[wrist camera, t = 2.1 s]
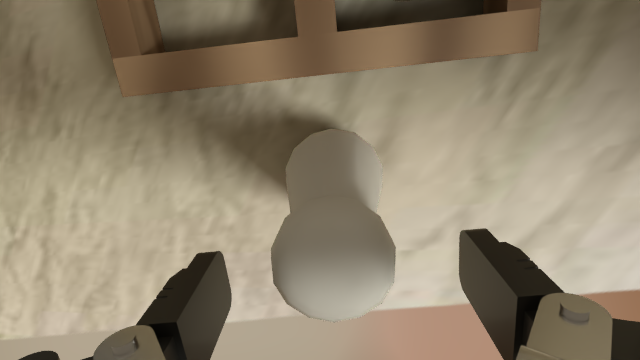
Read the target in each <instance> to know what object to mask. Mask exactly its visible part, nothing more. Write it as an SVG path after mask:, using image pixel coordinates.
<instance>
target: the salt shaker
mask: <svg viewBox="0 0 640 360" xmlns="http://www.w3.org/2000/svg"><path fill="white" fill-rule="evenodd" d="M285 171H286V185H287V193H288V198H289V204H290V213H291V214H289V215H288V216H287V217H286V218H285V219H284V221H283V224H282V226H281V228H280V230H279V232H278V234H277V236H276V239H275V241H274V243H273V245H272V248H271V261H272V271H273V282H274V284H275V286H276V287H277V289H278V291H279V292H280V294H281V295H282V297H283V299H284V300H285V302H286V303H287V304H288V305H290V306H291V307H293V308H294V309H296V310H298V311H299V312H301V313H302V314H304V315H306V316H307V317H310V318H315V319H320V320H325V321H330V322H338V321H344V320H348V319H354V318H358V317H361V316H363V315H364V314H366V313H367V312H369V311H371V310H372V309H374V308H375V307H377V306H378V305H380V304H382V302H383V300H384V299H385V297H386V295H387V293H388V292H389V290H390V288H391V287H392V285H393V283H394V274H395V249H396V247H395V245H394V243H393V241H392V238H391V236H390V235H389V233H388V231H387V229H386V227H385V225H384V223H383V221H382V219H381V217H380V216H379V215H377V214H376V213H377V208H378V203H379V198H380V194H381V189H382V172H383V166H382V164H381V162H380V160H379V158H378V156H377V154H376V152H375V150H374V148H373V147H372V146H371V145H370V144H369V143H367V142H366V141H365V140H363V139H362V138H361V137H360V136H358V135H357V134H356V133H354V132H349V131H344V130H339V129H334V128H332V129H328V130H324V131H320V132H316V133H312V134H311V135H309V136H308V137H307V138H306V139H305V140H303V141H302V142H301V143H300V144H299V145H298V146H296V147H295V148H294V149H293V152H292V154H291V156H290V159H289V161H288V163H287V166H286V168H285Z"/></svg>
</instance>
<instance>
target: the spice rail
mask: <svg viewBox="0 0 640 360" xmlns="http://www.w3.org/2000/svg"><path fill="white" fill-rule="evenodd" d="M96 1H97V5H98V9H99V12H100V16H101V20H102V23H103V27H104V31H105V34H106V38H107V42H108V45H109V49H110V52H111V56H112V60H113V63H114V67H115V71H116V74H117V78H118V82H119V85H120V89H121V93H122V96H123V97H127V96H136V95H145V94H154V93H163V92H172V91H181V90H190V89H199V88H208V87H217V86H226V85H235V84H244V83H253V82H262V81H271V80H280V79H289V78H298V77H307V76H316V75H325V74H334V73H343V72H352V71H361V70H370V69H379V68H388V67H397V66H406V65H415V64H424V63H433V62H442V61H451V60H460V59H469V58H478V57H487V56H496V55H505V54H514V53H523V52H532V51H537V50H538V37H539V24H540V11H541V0H484V4H483V15H476V16H467V17H459V18H450V19H442V20H434V21H425V22H417V23H408V24H400V25H392V26H383V27H375V28H366V29H358V30H349V31H341V32H337V25H336V13H335V2H334V0H294V5H295V14H296V22H297V30H298V37H291V38H282V39H274V40H265V41H257V42H249V43H240V44H232V45H223V46H215V47H207V48H198V49H190V50H181V51H173V52H165V48H164V44H163V39H162V35H161V31H160V26H159V22H158V18H157V13H156V9H155V4H154V0H96Z"/></svg>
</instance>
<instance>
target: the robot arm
mask: <svg viewBox="0 0 640 360" xmlns="http://www.w3.org/2000/svg"><path fill="white" fill-rule="evenodd" d="M459 276H460V282H461V286H462V289H463V291H464V293H465V295H466V296H467V298H468V300H469V301H470V303H471V305H472V306H473V308H474V310H475V312H476V313H477V315H478V317H479V318H480V320H481V322H482V323H483V325H484V327H485V329H486V330H487V332H488V334H489V335H490V337H491V339H492V340H493V342H494V344H495V346H496V347H497V349H498V351H499V352H500V354H501V356H502V358H503V359H504V360H640V322H635V321H627V320H619V319H613V318H612V317H611V315H610V314H609V312H608V311H607V310H606V309H605V308H603V307H602V306H601V305H599V304H598V303H596V302H594V301H592V300H590V299H588V298H585V297H582V296H579V295H575V294H569V293H564V292H563V291H562V290H561V289H560V288H559V287H558V286H557V285H556V284H555V283H554V282H553V281H552V280H551V279H550V278H549V277H548V276H547V275H546V274H545V273H544V272H543V271H542V270H541V269H538V266H537V265H536V264H535V263H534V262H533V261H530V258H529V257H528V256H527V255H526V254H525V253H524V252H523V251H521V250H520V249H519V248H517V247H515V246H513V245H511V244H509V243H507V242H499V241H498V240H497V239H496V238H495V237H494V236H493V235H492V234H491V233H490V232H489V231H488V230H487V229H485V228H484V229H473V230H462V231H461V233H460V242H459ZM230 307H231V288H230V284H229V279H228V275H227V270H226V265H225V261H224V257H223V254H222V253H221V252H220V251H216V252H205V253H198V254H197V255H196V256H195V257H194V259H193V260H192V262H191V263H190V265H189V266H188V268H186V269H182V270H180V271H179V272H178V273H176V274H175V275H174V276H172V277H171V278H170V279H169V280H168V282H167V283H166V285H165V286H164V287H163V290H161V291H160V293H159V294H158V295H157V297H156V299H155V300H154V301H153V302H152V304H151V305H150V306H149V308H148V309H147V310H146V312H145V313H144V315H143V316H142V317H141V319H140V320H139V321H138V323H137V324H136V325H135V326H131V327H127V328H125V329H122V330H120V331H118V332H116V333H114V334H112V335H111V336H109V337H108V338H107V339H105V340H104V341H103V342H102V343H101V344H100V345H99V346H98V347H97V349H96V350H95V352H94V355H93V356H92V357H89V358H86V359H82V360H210V358H211V355H212V353H213V350H214V348H215V345H216V343H217V340H218V338H219V335H220V333H221V330H222V328H223V325H224V323H225V320H226V318H227V315H228V313H229V310H230ZM19 360H60V359H59V356H58V354H57V353H56V352H53V351H41V352H37V353H33V354H30V355H28V356H25V357H23V358H21V359H19Z"/></svg>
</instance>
